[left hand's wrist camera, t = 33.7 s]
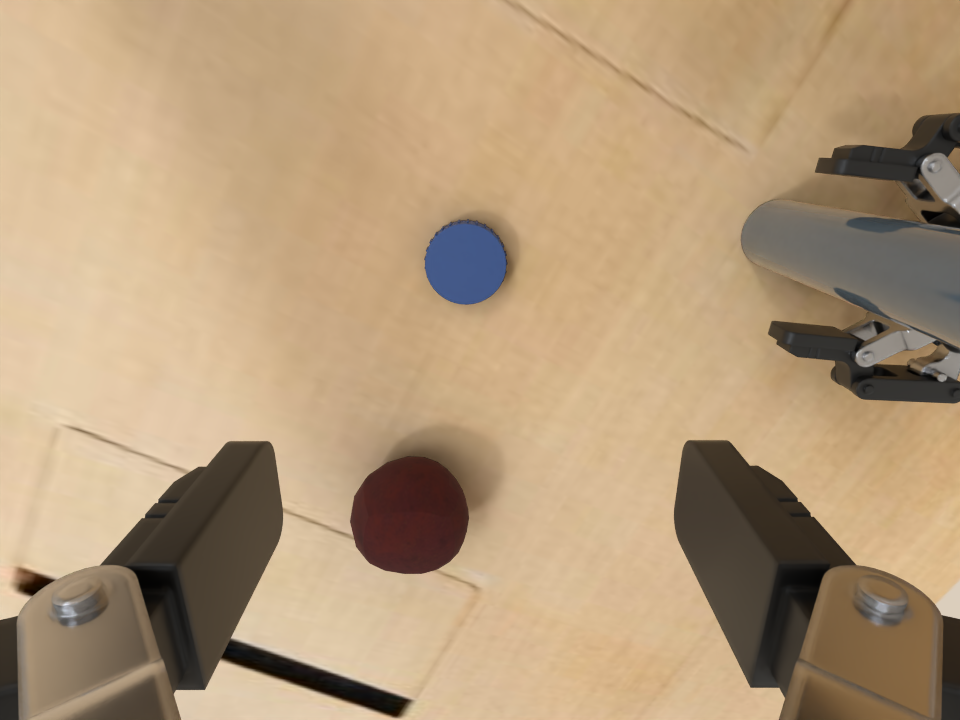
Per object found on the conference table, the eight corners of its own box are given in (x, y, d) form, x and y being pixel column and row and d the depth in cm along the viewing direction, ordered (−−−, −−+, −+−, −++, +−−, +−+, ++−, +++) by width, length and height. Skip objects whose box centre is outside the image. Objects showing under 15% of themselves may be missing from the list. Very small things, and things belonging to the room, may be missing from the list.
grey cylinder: (748, 196, 35) (1050, 250, 17) (816, 201, 35) (1189, 260, 17) (733, 264, 36) (996, 384, 18) (798, 269, 36) (1125, 392, 18)
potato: (470, 528, 43) (468, 598, 36) (363, 529, 43) (343, 599, 36) (468, 438, 40) (467, 496, 33) (356, 439, 40) (332, 497, 33)
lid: (437, 209, 35) (435, 212, 33) (516, 231, 35) (518, 235, 34) (417, 287, 37) (415, 293, 35) (493, 307, 37) (494, 314, 36)
